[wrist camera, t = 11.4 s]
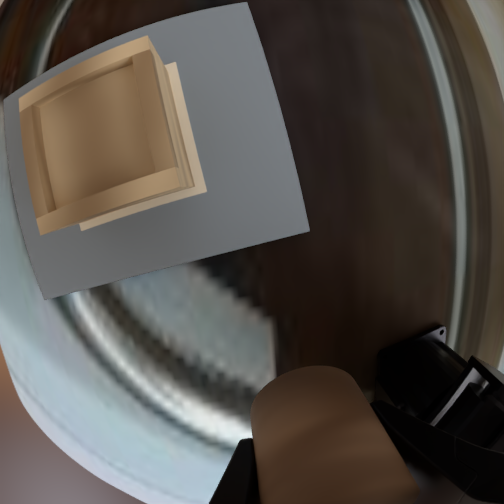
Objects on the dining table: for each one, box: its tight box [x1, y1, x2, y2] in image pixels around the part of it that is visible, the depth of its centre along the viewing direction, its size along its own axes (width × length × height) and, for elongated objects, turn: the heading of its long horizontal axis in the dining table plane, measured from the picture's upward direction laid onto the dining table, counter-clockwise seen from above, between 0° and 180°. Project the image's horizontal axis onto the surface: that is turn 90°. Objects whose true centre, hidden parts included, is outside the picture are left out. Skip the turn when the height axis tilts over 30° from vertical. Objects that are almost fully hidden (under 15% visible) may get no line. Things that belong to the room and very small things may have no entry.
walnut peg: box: [250, 365, 420, 504], centre depth 7 cm, size 4×4×5 cm
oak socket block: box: [19, 35, 195, 236], centre depth 12 cm, size 7×7×5 cm
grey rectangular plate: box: [4, 2, 310, 300], centre depth 15 cm, size 18×15×1 cm
